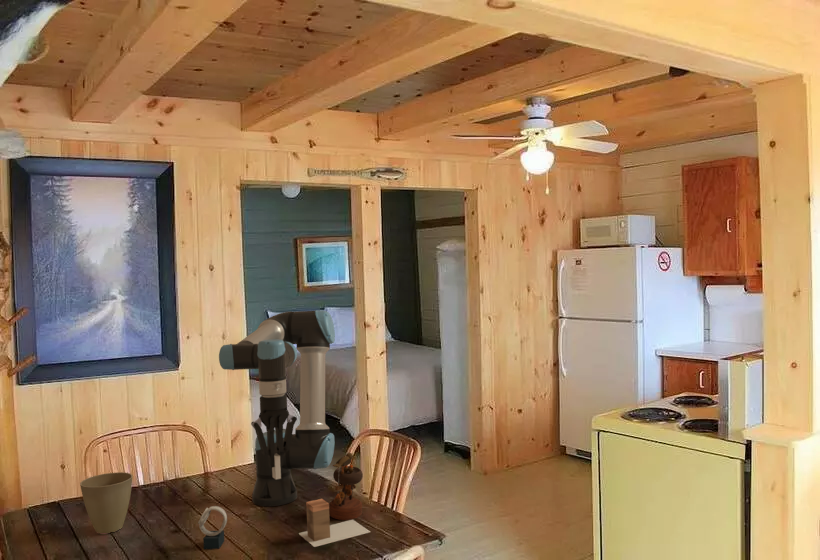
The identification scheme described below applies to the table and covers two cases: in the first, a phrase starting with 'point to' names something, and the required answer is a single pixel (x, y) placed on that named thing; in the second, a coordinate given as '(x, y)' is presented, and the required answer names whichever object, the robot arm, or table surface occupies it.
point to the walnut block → (318, 519)
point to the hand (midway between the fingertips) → (276, 477)
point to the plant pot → (107, 500)
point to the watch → (212, 537)
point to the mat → (338, 532)
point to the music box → (346, 490)
